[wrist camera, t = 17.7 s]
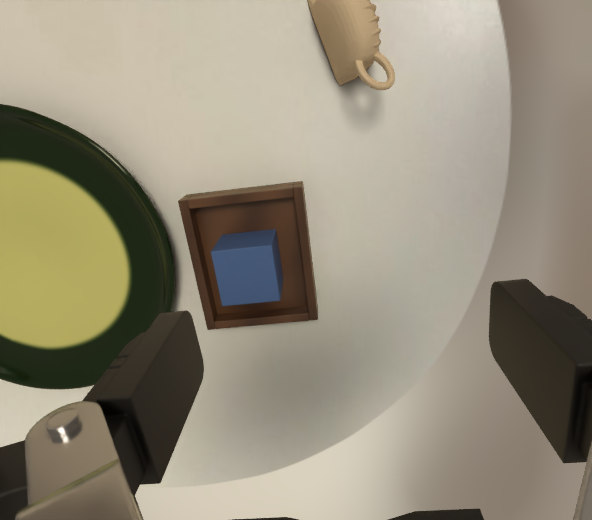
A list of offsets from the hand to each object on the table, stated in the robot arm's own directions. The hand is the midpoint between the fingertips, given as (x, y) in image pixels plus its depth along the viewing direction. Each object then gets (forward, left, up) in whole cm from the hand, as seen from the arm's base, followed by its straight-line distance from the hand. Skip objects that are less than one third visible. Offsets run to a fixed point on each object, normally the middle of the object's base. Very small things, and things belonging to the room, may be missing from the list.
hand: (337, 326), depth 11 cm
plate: (+28, +5, -27) cm, 39 cm away
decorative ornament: (-3, -10, -27) cm, 29 cm away
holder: (+7, +7, -27) cm, 29 cm away
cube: (+7, +7, -26) cm, 28 cm away
